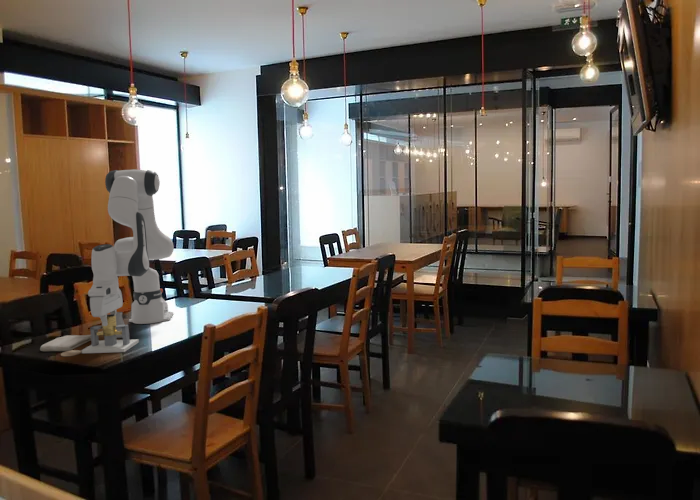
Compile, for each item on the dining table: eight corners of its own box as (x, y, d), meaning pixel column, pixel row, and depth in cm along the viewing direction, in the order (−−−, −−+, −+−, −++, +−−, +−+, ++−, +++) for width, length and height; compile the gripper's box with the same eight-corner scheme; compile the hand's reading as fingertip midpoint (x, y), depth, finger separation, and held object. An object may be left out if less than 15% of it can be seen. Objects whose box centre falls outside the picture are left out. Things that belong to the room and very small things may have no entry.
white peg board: (98, 343, 233) (96, 322, 232) (138, 342, 232) (137, 321, 231) (81, 353, 219) (79, 331, 218) (124, 352, 218) (122, 329, 217)
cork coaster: (66, 351, 222) (66, 350, 222) (84, 350, 222) (84, 349, 222) (57, 356, 215) (56, 355, 215) (75, 356, 215) (75, 355, 215)
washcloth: (93, 340, 240) (93, 332, 240) (70, 352, 223) (69, 344, 222) (65, 341, 241) (65, 333, 241) (39, 353, 223) (39, 345, 223)
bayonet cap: (100, 333, 227) (99, 313, 227) (124, 332, 227) (123, 312, 226) (94, 336, 222) (93, 316, 222) (119, 335, 222) (118, 315, 221)
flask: (123, 338, 239) (121, 314, 238) (107, 338, 241) (105, 314, 240) (133, 334, 246) (131, 310, 245) (117, 334, 248) (115, 310, 247)
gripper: (109, 283, 233) (112, 318, 235) (85, 292, 213) (88, 330, 214) (125, 283, 233) (128, 317, 235) (102, 292, 213) (106, 329, 214)
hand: (109, 323), depth 224 cm, fingers closed on bayonet cap, 5 cm apart
